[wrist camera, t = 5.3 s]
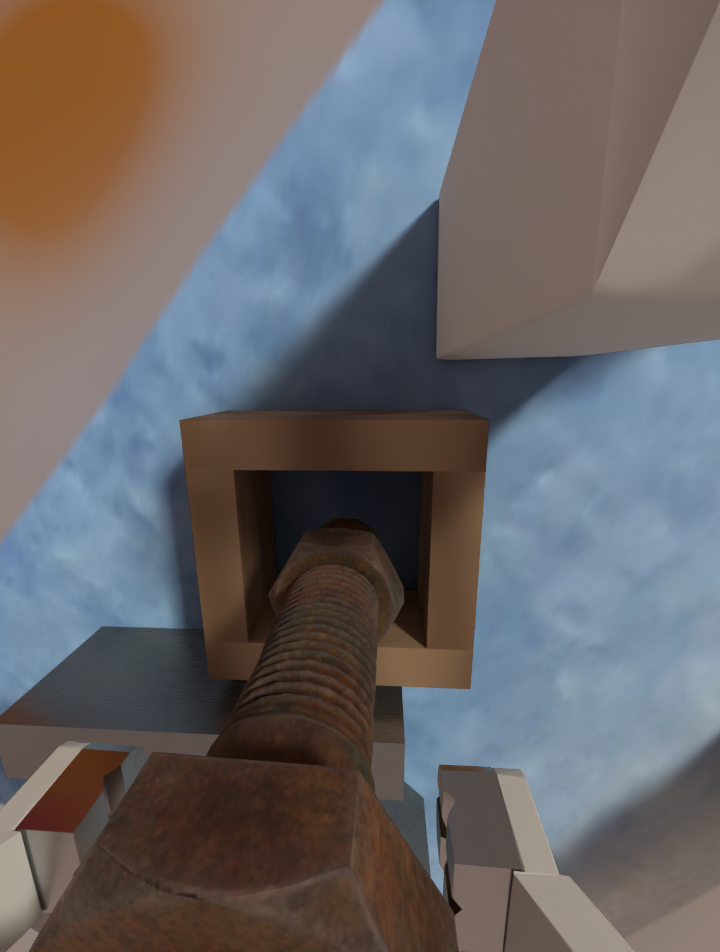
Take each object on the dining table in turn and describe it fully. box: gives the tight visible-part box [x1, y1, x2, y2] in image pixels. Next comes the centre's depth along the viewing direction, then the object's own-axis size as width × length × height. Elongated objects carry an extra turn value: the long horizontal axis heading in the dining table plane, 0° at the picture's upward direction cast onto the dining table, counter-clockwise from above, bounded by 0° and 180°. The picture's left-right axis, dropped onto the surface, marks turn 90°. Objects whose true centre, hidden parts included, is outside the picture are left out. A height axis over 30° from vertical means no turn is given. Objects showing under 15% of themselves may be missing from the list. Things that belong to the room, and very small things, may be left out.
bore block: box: [180, 410, 489, 689], centre depth 19 cm, size 12×12×5 cm
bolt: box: [29, 517, 459, 952], centre depth 12 cm, size 6×5×15 cm
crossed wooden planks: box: [0, 627, 431, 933], centre depth 22 cm, size 22×14×7 cm, turn 90°
